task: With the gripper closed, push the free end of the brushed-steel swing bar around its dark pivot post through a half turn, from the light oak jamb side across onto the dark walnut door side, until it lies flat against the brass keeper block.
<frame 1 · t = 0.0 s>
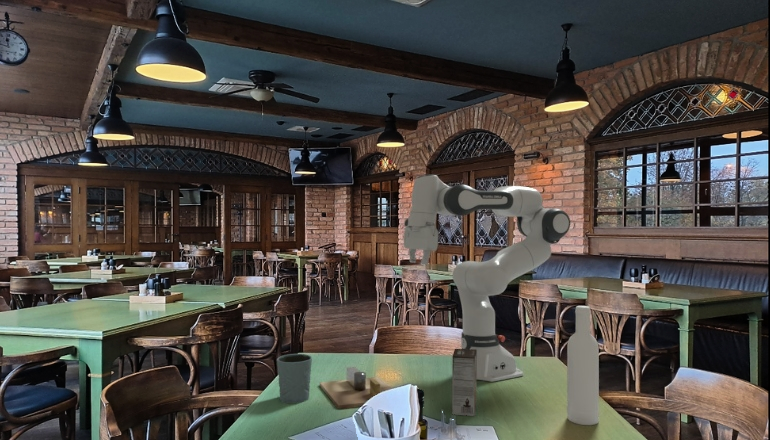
hand: (418, 263, 173), 39 cm above the table, tool pointing down, fingers open, 8 cm apart
bottle: (582, 420, 138), on the table
coffee box: (464, 410, 145), on the table
swing bar: (356, 377, 164), point 4 cm above the table, hinge at 0.0°
grey cup: (294, 399, 154), on the table
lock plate: (359, 392, 160), on the table
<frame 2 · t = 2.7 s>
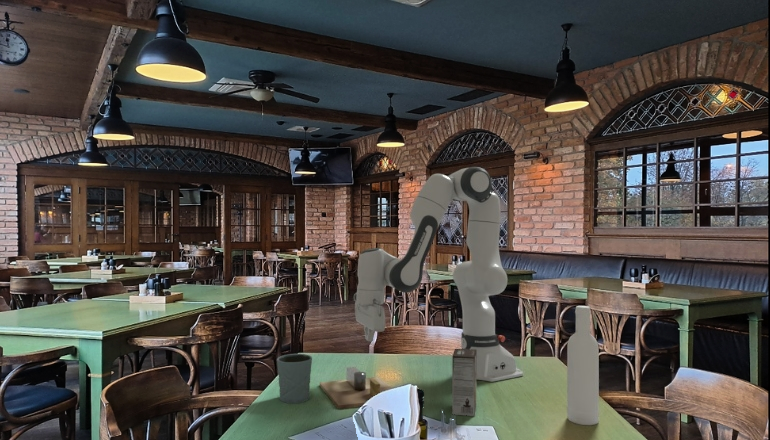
hand: (369, 340, 169), 14 cm above the table, tool pointing down, fingers closed
nothing on the table moved.
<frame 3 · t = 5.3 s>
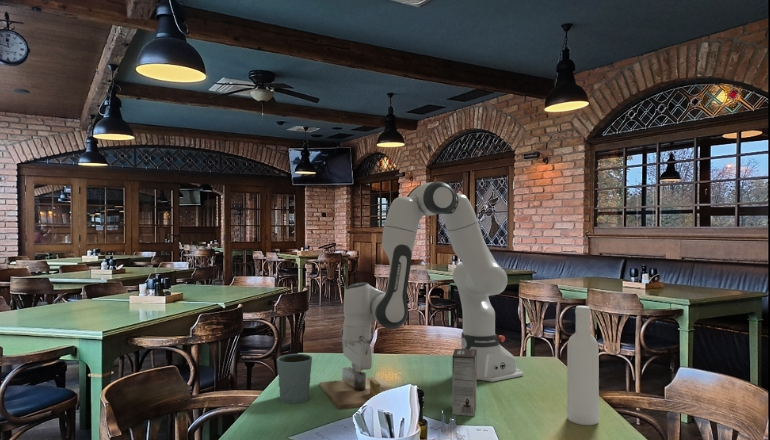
hand: (356, 376, 167), 3 cm above the table, tool pointing down, fingers closed
swing bar: (354, 377, 163), point 4 cm above the table, hinge at 8.6°, touching gripper
everything else where it was.
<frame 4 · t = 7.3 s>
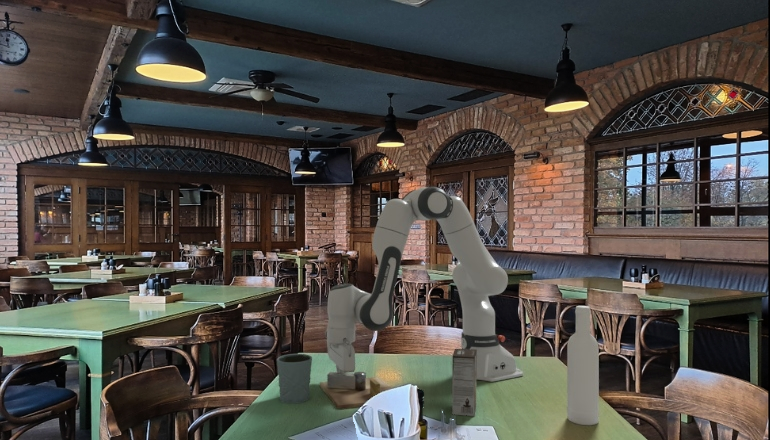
hand: (341, 379, 165), 3 cm above the table, tool pointing down, fingers closed
swing bar: (347, 380, 160), point 4 cm above the table, hinge at 58.4°, touching gripper
everything else where it was.
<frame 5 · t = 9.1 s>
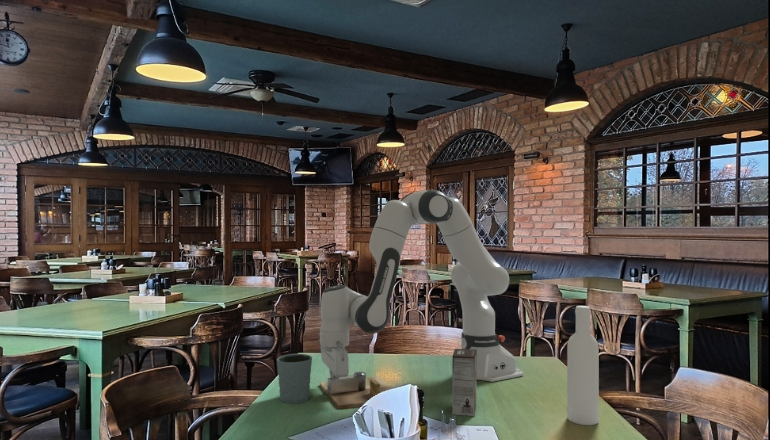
hand: (334, 384, 159), 3 cm above the table, tool pointing down, fingers closed
swing bar: (347, 382, 158), point 4 cm above the table, hinge at 96.9°, touching gripper
everything else where it was.
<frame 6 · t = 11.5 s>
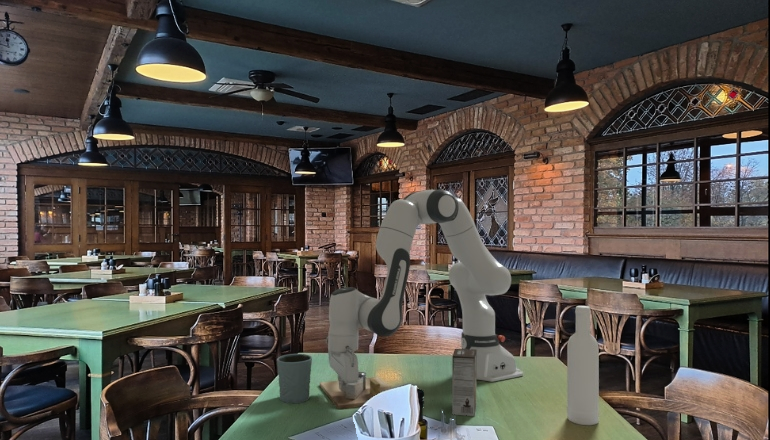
hand: (342, 390, 153), 3 cm above the table, tool pointing down, fingers closed
swing bar: (356, 384, 156), point 4 cm above the table, hinge at 146.5°, touching gripper
everything else where it was.
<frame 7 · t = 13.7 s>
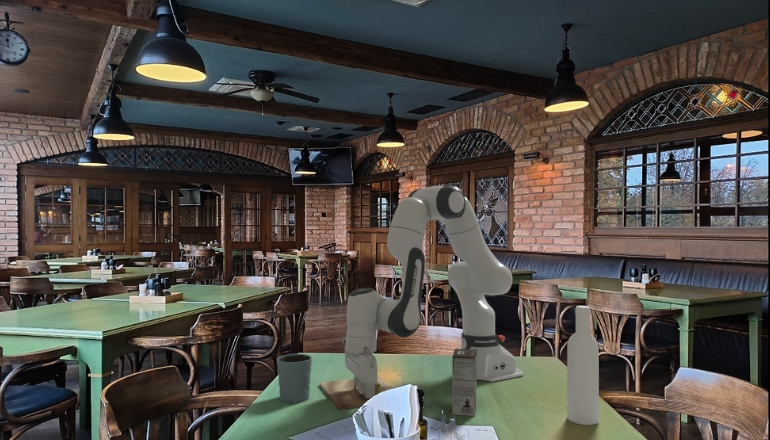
hand: (360, 392, 152), 3 cm above the table, tool pointing down, fingers closed, pressing on swing bar
swing bar: (364, 384, 156), point 4 cm above the table, hinge at 180.4°, touching gripper
everything else where it was.
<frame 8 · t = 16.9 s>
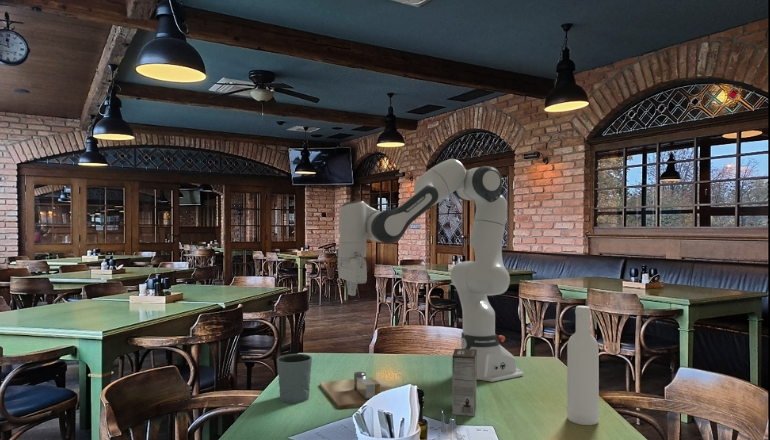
hand: (351, 295, 165), 29 cm above the table, tool pointing down, fingers closed
swing bar: (364, 384, 156), point 4 cm above the table, hinge at 180.4°
everything else where it was.
at the end: swing bar at +180° (first picture: +0°); swing bar touching nothing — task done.
